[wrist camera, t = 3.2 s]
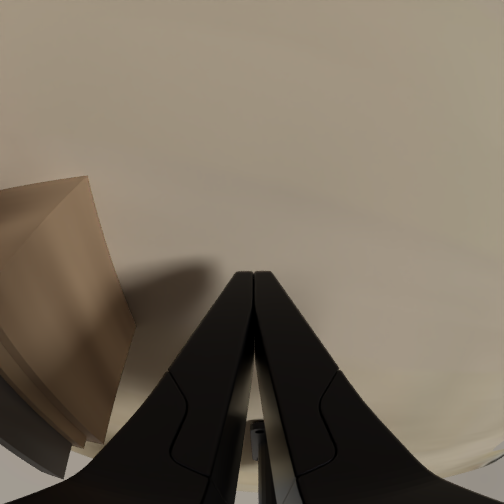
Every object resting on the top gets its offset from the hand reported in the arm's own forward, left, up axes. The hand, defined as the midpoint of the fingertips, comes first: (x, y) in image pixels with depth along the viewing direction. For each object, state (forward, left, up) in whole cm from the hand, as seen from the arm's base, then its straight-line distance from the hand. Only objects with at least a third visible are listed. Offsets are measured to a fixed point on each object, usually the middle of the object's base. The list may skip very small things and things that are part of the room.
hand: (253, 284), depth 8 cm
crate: (0, +9, -2) cm, 9 cm away
